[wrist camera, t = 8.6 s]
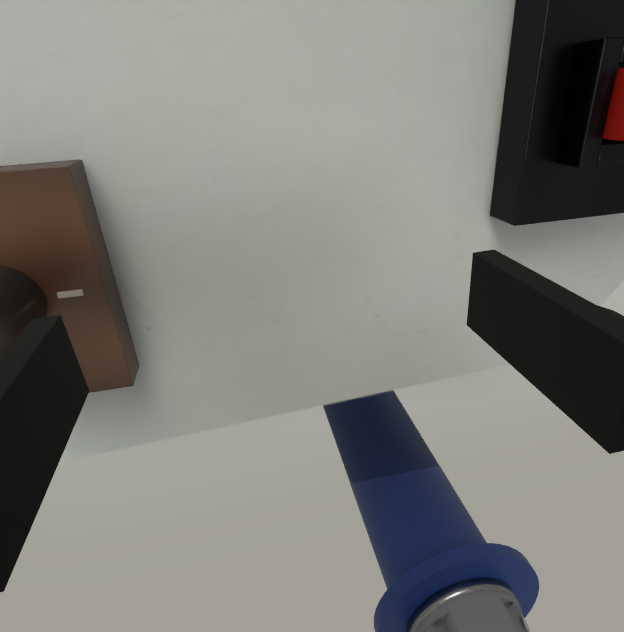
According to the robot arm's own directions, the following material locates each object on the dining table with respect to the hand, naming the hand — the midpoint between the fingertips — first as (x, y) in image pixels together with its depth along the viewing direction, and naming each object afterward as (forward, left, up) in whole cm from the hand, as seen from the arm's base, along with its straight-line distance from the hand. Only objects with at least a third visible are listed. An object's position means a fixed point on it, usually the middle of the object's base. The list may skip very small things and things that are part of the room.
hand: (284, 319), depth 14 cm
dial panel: (-3, +15, -16) cm, 22 cm away
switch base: (+5, -22, -16) cm, 28 cm away
